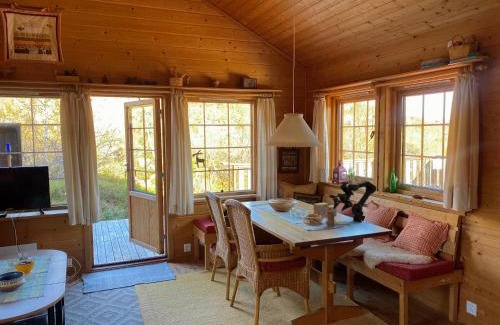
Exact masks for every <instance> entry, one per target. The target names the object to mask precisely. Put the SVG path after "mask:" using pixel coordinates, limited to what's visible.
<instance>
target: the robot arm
mask: <svg viewBox="0 0 500 325" xmlns="http://www.w3.org/2000/svg"><path fill="white" fill-rule="evenodd" d="M339 187H340V190H341V191H342V192H343V193H339V192H338V193H337V195H336V197H333V198H332V201H333V205H334V207H333V209H335V208H336V207H337V208H338V206H340V204H343V207H342V208H341V212H343V211H345V210H347V209H350V208H351V214H352V221H353V222H355V223H363V221H362V218H363V217H362V216H364V214H365V213H364V211H363V206H364V205H365V203H366V202H367V200H368V199H369V198H370V196H371V195H373V194H375V192H376V191H377V190H378V189H377V186H376V185H374V184H373V183H371V182H370V181H369V180H364V181H360V182H358V183H349V184H348V183H347V182H344V183H342V184H340V186H339ZM364 187H365V192H364V193H363V195H362V196H361V197H360V198H359V200H358V201H357V203H353V202H352V201H351V197H352V196H355V194H354V193H355V192H356V191H359V189H361V188H364ZM337 208H336V209H337Z"/></svg>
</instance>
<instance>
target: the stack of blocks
mask: <svg viewBox="0 0 500 325" xmlns="http://www.w3.org/2000/svg"><path fill="white" fill-rule="evenodd" d="M333 207H334V204H331V205H329V203H327V202H319V203H318V202H317V203H313V215H314V214H318V215H321V216H322V217H321V218H327V217H328V211H333V212H335V213H334V217H337V208H338V206H337V207H336V208H335V209H333Z"/></svg>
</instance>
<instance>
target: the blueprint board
mask: <svg viewBox="0 0 500 325" xmlns="http://www.w3.org/2000/svg"><path fill="white" fill-rule="evenodd" d="M325 223H326V224H327V220H325ZM334 226H350V223H349V222H347V221H346V220H337V219H334Z"/></svg>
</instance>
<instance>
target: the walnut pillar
mask: <svg viewBox="0 0 500 325" xmlns="http://www.w3.org/2000/svg"><path fill="white" fill-rule="evenodd" d="M334 213H335V212H333V211H328V217H326V218H327V219H326V221H327V223H326V226H327V227H329V228H333V227H335V225H334V220H335V216H334Z"/></svg>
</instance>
